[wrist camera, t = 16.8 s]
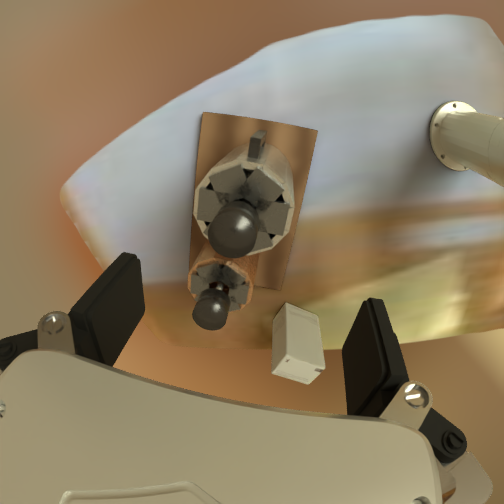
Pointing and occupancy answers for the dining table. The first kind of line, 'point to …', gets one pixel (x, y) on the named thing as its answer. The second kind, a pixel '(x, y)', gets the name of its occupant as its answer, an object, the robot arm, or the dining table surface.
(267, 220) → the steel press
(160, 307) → the dining table surface
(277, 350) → the skincare box
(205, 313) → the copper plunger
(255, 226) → the steel plunger
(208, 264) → the copper press
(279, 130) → the walnut board
